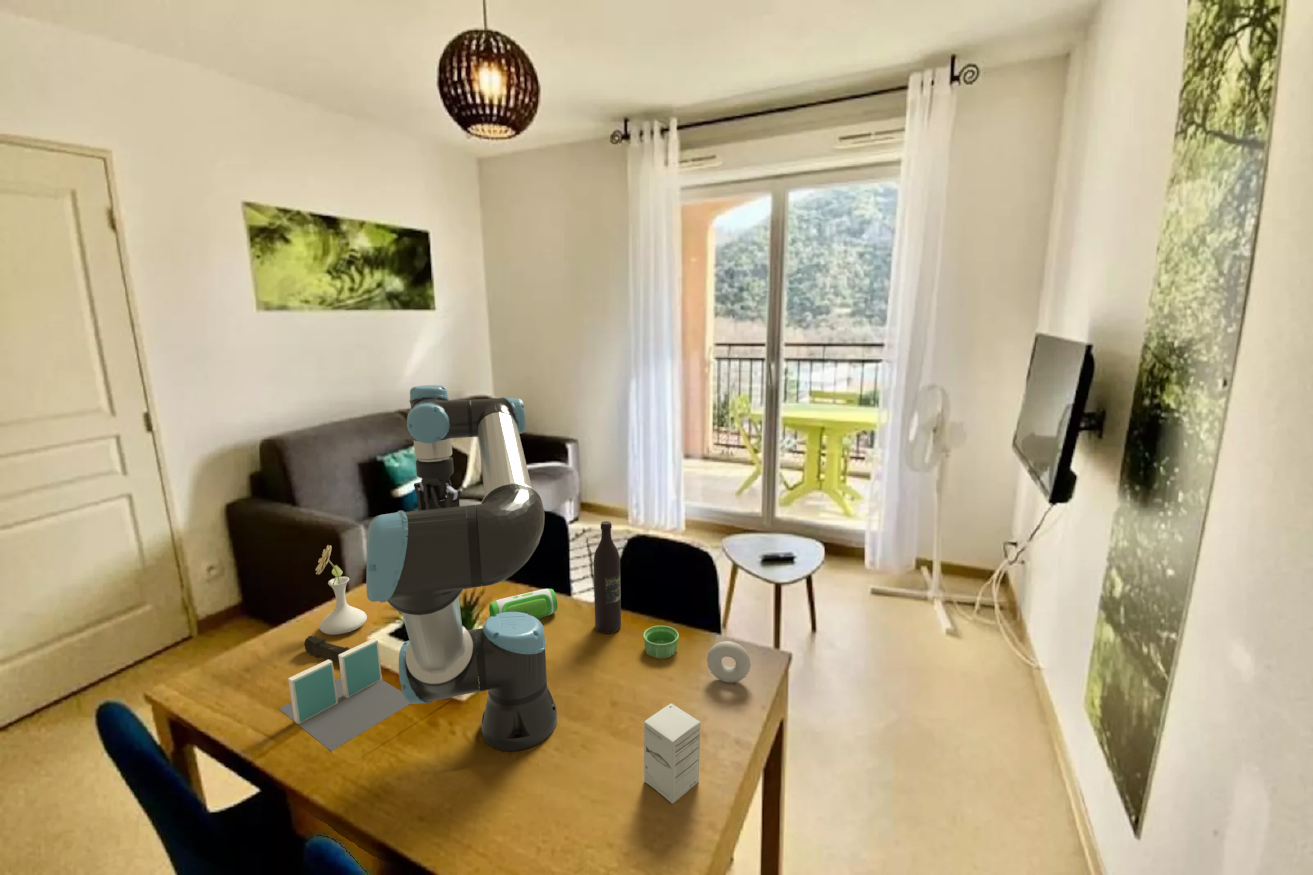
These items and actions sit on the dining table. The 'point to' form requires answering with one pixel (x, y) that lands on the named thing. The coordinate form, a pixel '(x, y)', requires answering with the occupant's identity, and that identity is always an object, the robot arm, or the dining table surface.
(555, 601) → the speaker
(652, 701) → the dining table surface
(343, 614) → the flower in vase
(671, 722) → the supplement box
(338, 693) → the mat
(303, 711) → the tile near
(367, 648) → the tile far
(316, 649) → the hand tool
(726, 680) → the donut
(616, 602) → the wine bottle
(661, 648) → the ramekin
